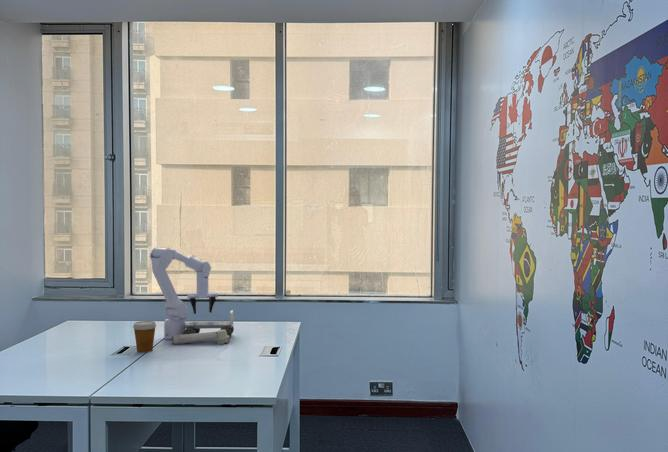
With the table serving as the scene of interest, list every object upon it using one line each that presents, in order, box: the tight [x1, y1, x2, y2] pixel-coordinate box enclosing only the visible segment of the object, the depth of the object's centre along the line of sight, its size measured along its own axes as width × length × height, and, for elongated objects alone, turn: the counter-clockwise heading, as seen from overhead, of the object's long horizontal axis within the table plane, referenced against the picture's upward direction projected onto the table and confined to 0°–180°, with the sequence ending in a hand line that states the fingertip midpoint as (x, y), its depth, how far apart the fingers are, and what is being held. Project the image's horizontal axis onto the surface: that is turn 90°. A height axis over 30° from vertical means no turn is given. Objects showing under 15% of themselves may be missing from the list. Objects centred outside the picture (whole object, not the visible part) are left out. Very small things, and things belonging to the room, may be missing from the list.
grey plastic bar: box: [171, 329, 230, 345], centre depth 256 cm, size 5×7×25 cm
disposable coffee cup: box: [132, 320, 157, 353], centre depth 242 cm, size 10×10×12 cm
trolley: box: [183, 310, 235, 340], centre depth 266 cm, size 22×13×12 cm, turn 95°
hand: (202, 312), depth 281 cm, fingers open, 7 cm apart
